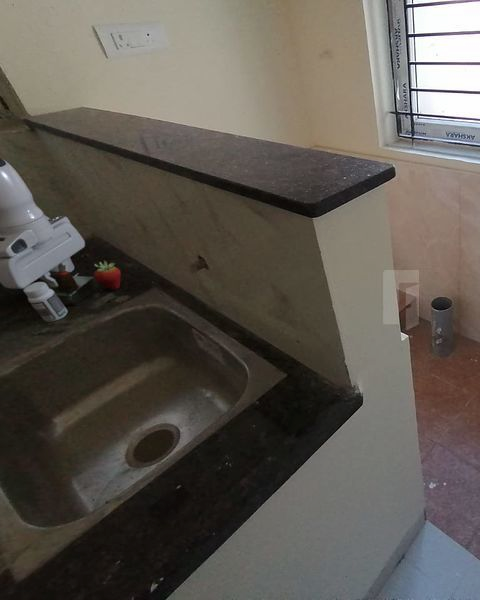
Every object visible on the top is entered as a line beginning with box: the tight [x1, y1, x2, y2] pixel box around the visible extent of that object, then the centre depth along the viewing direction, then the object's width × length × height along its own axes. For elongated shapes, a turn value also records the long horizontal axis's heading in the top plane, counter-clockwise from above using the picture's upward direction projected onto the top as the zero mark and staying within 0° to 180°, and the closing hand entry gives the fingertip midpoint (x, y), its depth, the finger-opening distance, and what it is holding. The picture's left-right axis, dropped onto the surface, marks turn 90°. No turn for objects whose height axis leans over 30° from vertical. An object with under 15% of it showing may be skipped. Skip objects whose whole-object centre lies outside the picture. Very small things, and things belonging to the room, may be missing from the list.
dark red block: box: [45, 271, 77, 287], centre depth 94 cm, size 6×2×4 cm, turn 85°
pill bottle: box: [23, 281, 69, 323], centre depth 88 cm, size 5×5×8 cm
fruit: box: [93, 259, 122, 291], centre depth 96 cm, size 5×5×8 cm
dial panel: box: [46, 272, 100, 306], centre depth 96 cm, size 10×10×3 cm
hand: (61, 282), depth 95 cm, fingers closed on dark red block, 2 cm apart
